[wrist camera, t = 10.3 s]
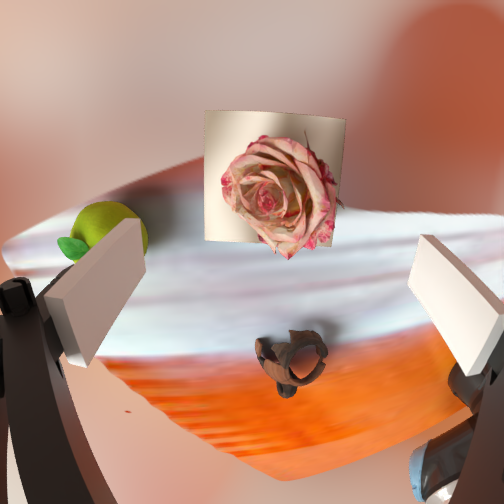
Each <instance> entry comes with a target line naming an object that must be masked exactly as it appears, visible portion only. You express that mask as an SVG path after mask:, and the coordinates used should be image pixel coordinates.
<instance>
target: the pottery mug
mask: <svg viewBox="0 0 504 504" xmlns="http://www.w3.org/2000/svg"><path fill="white" fill-rule="evenodd" d="M289 332H290V337H291V344H289V343H280V344H274V345H273V346H272V347H271V350H273V351H274V352H275V355H276V357H277V358H278V360H279V362H280V364H279V363H275V362H273V361H272V360H270V359H264V358H263V357H262V356H261V352H262V346H263V344H262V343H261V342H260V340H259V339H256V342H255V350H256V354H257V358H258V360H259V362H260V364H261V366H262V367H263V369H264V370H265V372H266V373H267V374H268V375H269V376H270V377H271V378H272V379H273V380H275V381H276V383H277V390H278V393H279V395H280V396H281V397H283V398H289V397H292V396H294V394H295V393H296V391H297V387H298V386H304V385H307V384H309V383H311V382H313V381H314V380H315V379H316V378H318V376H319V375H320V374H321V373H322V372H323V370H324V368H325V365H326V364H325V363H323V362H322V361H323V358H326V357H327V355H328V350H327V348H326V346H325V344H324V343H323V341H322V338H321V337H320V335H319V334H317V333H316V332H314V331H311V332H310V331H309V330H305V331H294V330H289ZM311 344H313V345H316V352H317V354H318V355H319V356H320V359H319V361H318V364H317V365H316V367H315V368H314V370H313V371H312V372H311V373H310V374H309V375H307V376H306V377H304V378H303V379H299V378H298V377H297V376H296V375H295V374H294V373H293V372H292V370H291V368H290V367H289V365H290V362H291V359H292V358H293V356H294V355H295V354H296V352H297V351H299V350H300V349H301V348H303V347H305V346H307V345H311Z"/></svg>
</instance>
